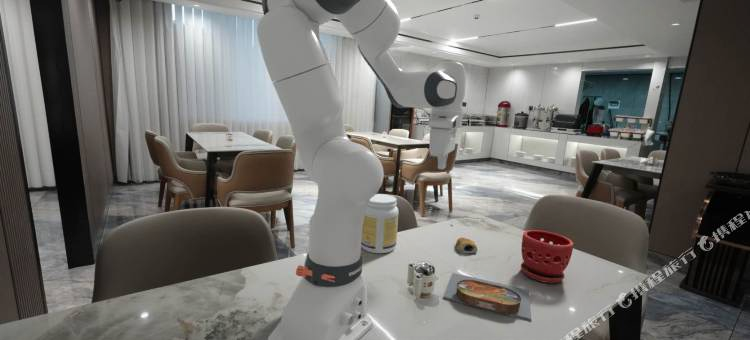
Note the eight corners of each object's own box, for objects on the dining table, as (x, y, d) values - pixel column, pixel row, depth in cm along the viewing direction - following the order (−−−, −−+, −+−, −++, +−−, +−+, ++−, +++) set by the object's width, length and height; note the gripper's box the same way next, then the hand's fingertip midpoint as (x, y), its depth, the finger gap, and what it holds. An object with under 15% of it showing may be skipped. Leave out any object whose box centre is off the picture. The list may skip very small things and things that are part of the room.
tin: (521, 290, 85) (521, 306, 77) (519, 302, 85) (519, 319, 77) (459, 276, 90) (454, 289, 82) (458, 287, 91) (452, 301, 83)
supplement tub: (392, 240, 121) (396, 193, 118) (399, 254, 109) (403, 203, 106) (358, 239, 119) (360, 192, 116) (360, 254, 107) (363, 202, 104)
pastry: (452, 242, 122) (454, 232, 122) (471, 244, 122) (473, 233, 122) (458, 253, 113) (459, 242, 112) (479, 255, 113) (480, 244, 112)
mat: (531, 320, 78) (531, 318, 78) (443, 298, 85) (443, 296, 85) (528, 291, 91) (529, 290, 91) (452, 274, 98) (452, 272, 98)
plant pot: (571, 290, 93) (578, 249, 90) (519, 280, 97) (525, 240, 94) (562, 270, 105) (568, 233, 103) (516, 261, 109) (521, 225, 107)
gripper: (442, 119, 108) (438, 162, 111) (427, 120, 90) (422, 172, 92) (462, 121, 106) (457, 165, 109) (451, 122, 87) (446, 175, 90)
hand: (441, 168), depth 100 cm, fingers closed
